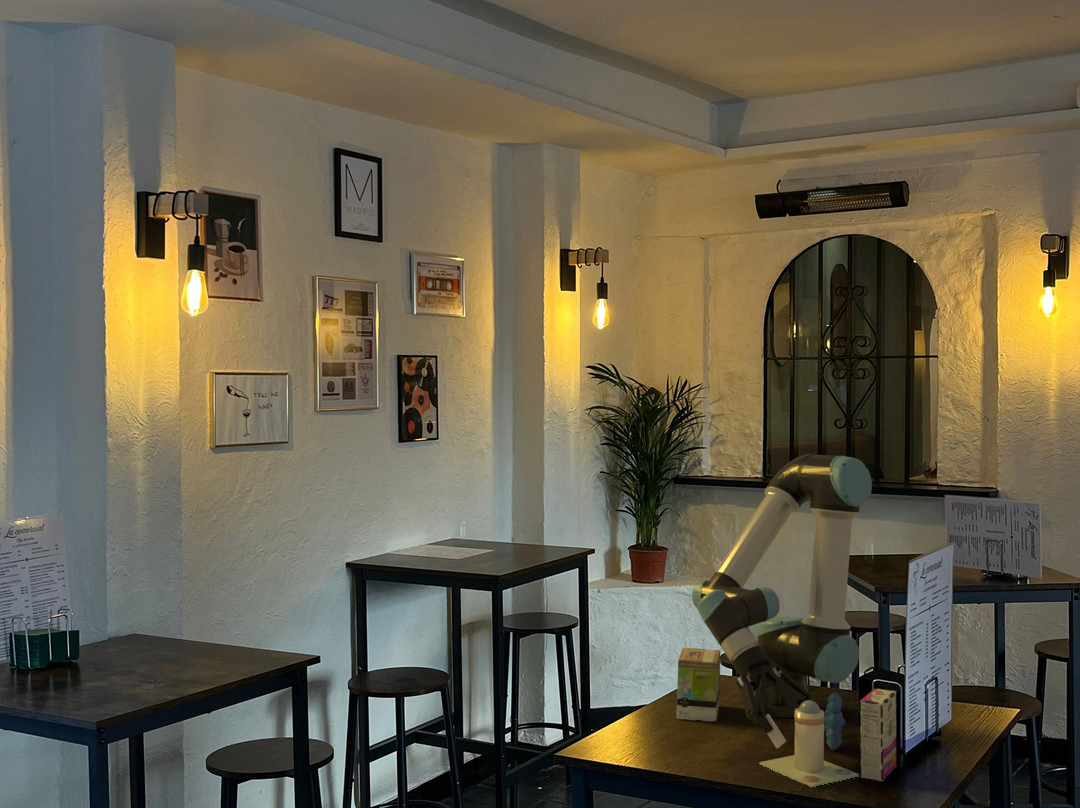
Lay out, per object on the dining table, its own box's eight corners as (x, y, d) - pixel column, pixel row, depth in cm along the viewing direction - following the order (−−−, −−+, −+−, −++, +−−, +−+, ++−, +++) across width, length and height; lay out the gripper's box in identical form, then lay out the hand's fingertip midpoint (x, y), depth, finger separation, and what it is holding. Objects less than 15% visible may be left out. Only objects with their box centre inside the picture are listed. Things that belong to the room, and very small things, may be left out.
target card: (804, 755, 247) (804, 751, 247) (859, 777, 234) (859, 773, 234) (759, 765, 241) (759, 761, 241) (812, 787, 227) (812, 783, 227)
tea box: (717, 722, 272) (718, 661, 272) (675, 720, 274) (676, 659, 274) (720, 706, 287) (720, 648, 287) (680, 703, 289) (681, 646, 289)
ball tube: (809, 761, 242) (809, 695, 242) (830, 769, 236) (831, 702, 236) (787, 765, 239) (788, 699, 238) (808, 774, 233) (809, 706, 233)
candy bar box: (873, 763, 242) (874, 687, 242) (897, 767, 240) (897, 691, 240) (858, 778, 233) (859, 699, 233) (882, 782, 230) (883, 703, 230)
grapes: (816, 737, 261) (816, 685, 260) (846, 740, 259) (846, 688, 258) (812, 752, 249) (813, 698, 249) (844, 756, 247) (844, 701, 247)
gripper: (770, 654, 260) (824, 735, 249) (699, 672, 243) (754, 759, 232) (789, 636, 256) (845, 717, 245) (718, 653, 239) (775, 740, 228)
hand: (801, 738), depth 239 cm, fingers open, 13 cm apart
